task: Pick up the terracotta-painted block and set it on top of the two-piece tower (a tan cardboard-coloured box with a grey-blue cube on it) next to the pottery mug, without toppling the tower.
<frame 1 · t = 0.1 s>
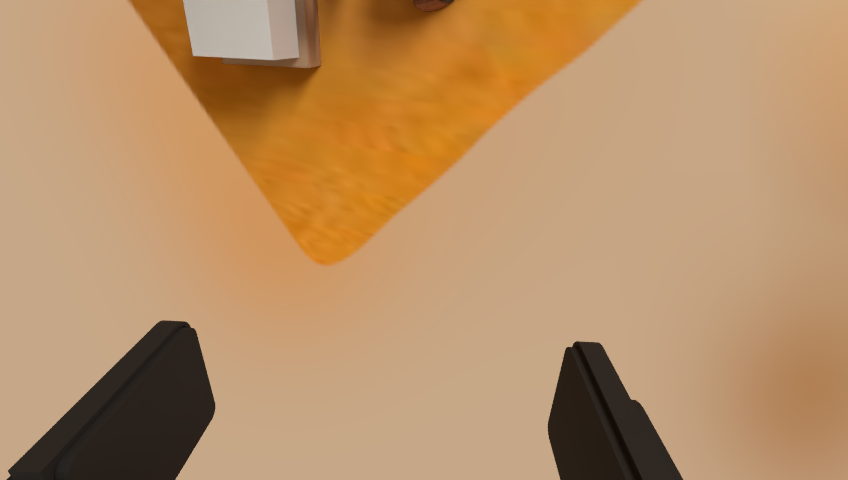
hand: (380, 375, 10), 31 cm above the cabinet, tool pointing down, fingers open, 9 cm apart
tan cardboard-coloured box: (278, 19, 35), on the cabinet, touching greyblue cube
greyblue cube: (260, 16, 31), point 4 cm above the cabinet, touching tan cardboard-coloured box
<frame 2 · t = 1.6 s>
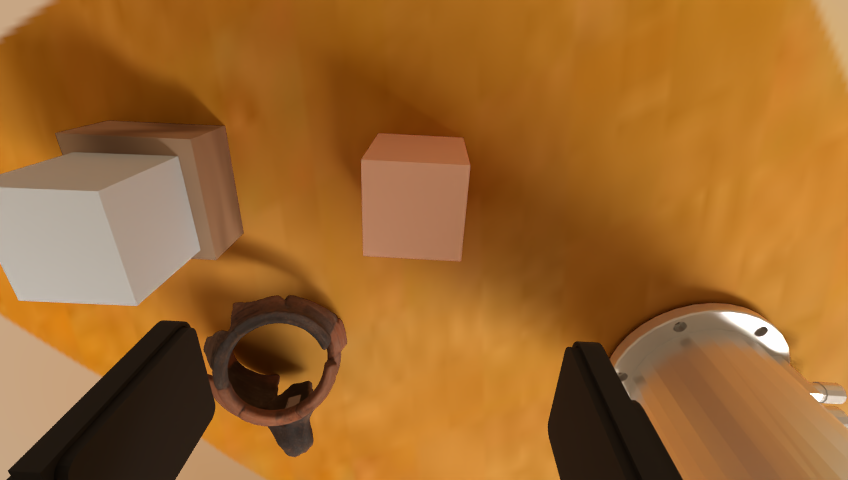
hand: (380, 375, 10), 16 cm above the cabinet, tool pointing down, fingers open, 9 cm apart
terracotta block: (419, 176, 25), on the cabinet
tan cardboard-coloured box: (182, 178, 26), on the cabinet
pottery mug: (292, 342, 31), on the cabinet
greyblue cube: (140, 203, 22), point 4 cm above the cabinet
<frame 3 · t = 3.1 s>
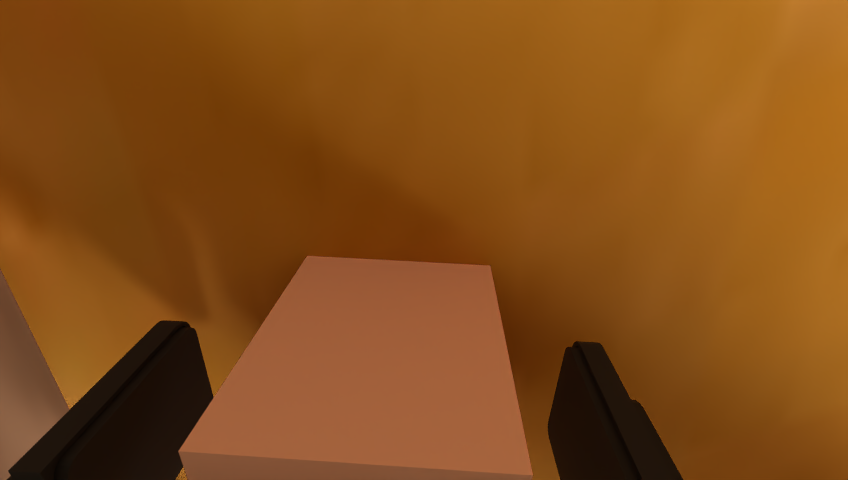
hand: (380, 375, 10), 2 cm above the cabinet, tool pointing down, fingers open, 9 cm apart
terracotta block: (397, 333, 12), on the cabinet
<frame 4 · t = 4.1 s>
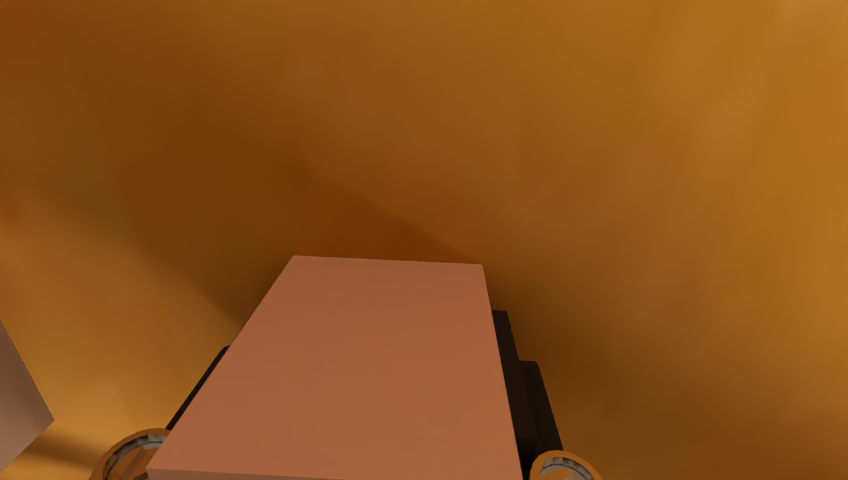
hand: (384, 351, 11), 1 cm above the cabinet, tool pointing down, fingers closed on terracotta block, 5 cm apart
terracotta block: (387, 335, 12), on the cabinet, touching gripper
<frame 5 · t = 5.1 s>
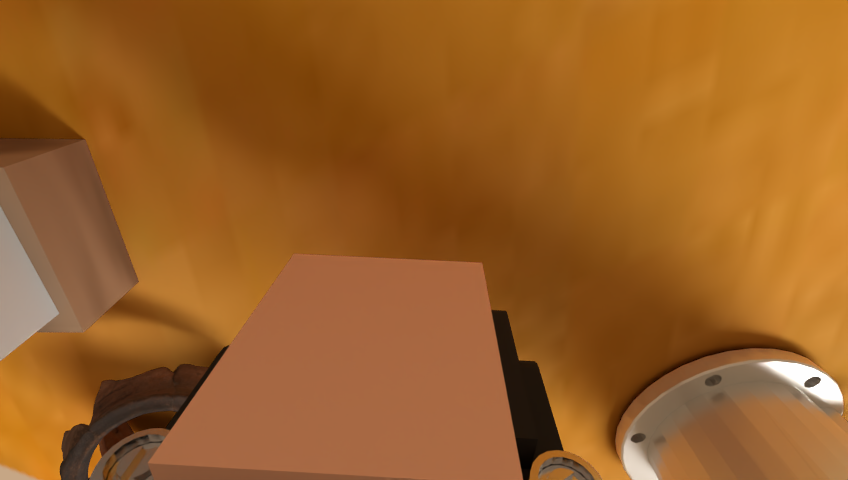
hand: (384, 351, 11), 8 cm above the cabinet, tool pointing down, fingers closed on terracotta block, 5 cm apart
terracotta block: (388, 333, 12), point 8 cm above the cabinet, touching gripper
tan cardboard-coloured box: (40, 213, 19), on the cabinet, touching greyblue cube
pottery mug: (207, 409, 25), on the cabinet
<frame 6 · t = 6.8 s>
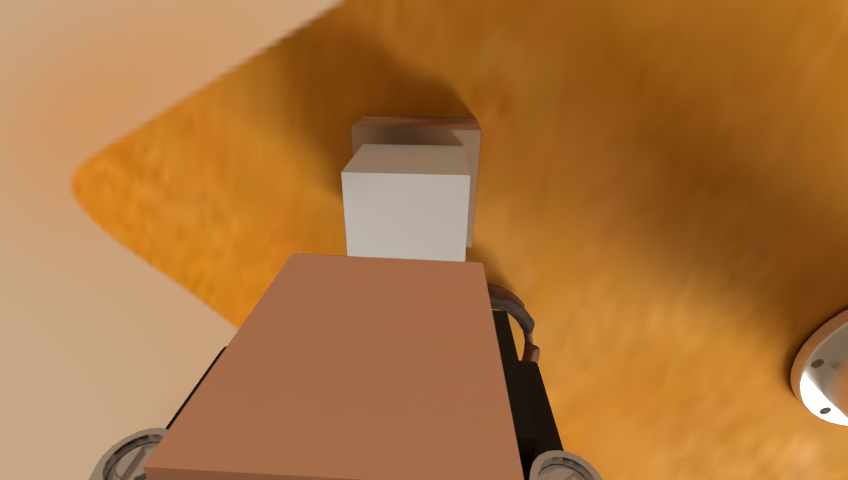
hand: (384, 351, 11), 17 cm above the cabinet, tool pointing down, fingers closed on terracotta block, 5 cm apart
terracotta block: (387, 333, 12), point 17 cm above the cabinet, touching gripper
tan cardboard-coloured box: (418, 171, 27), on the cabinet, touching greyblue cube
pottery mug: (465, 330, 32), on the cabinet
greyblue cube: (413, 192, 23), point 4 cm above the cabinet, touching tan cardboard-coloured box
when the fingers open (11 cm above the cabinet, at t = 8.6 s): terracotta block drops 1 cm, resting on greyblue cube.
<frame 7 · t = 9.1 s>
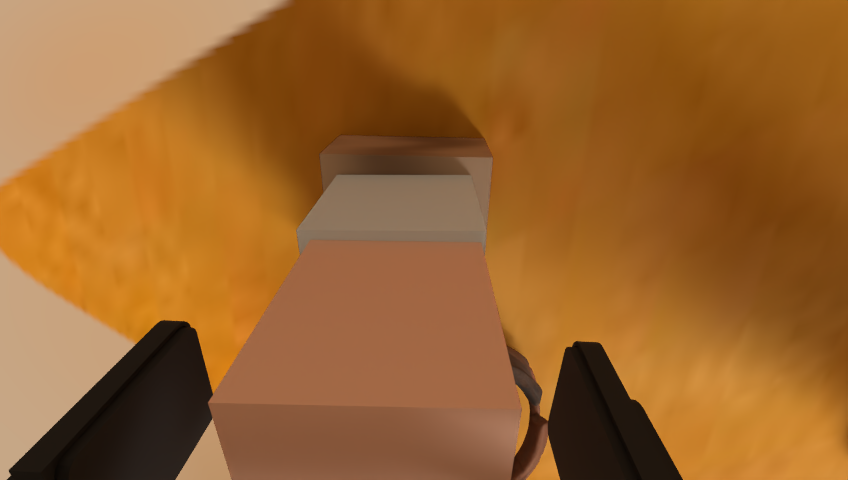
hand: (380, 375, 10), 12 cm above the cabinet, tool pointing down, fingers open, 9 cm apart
terracotta block: (397, 311, 13), point 9 cm above the cabinet, touching greyblue cube
tan cardboard-coloured box: (411, 202, 21), on the cabinet, touching greyblue cube
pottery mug: (457, 387, 27), on the cabinet
greyblue cube: (405, 235, 18), point 4 cm above the cabinet, touching terracotta block, tan cardboard-coloured box
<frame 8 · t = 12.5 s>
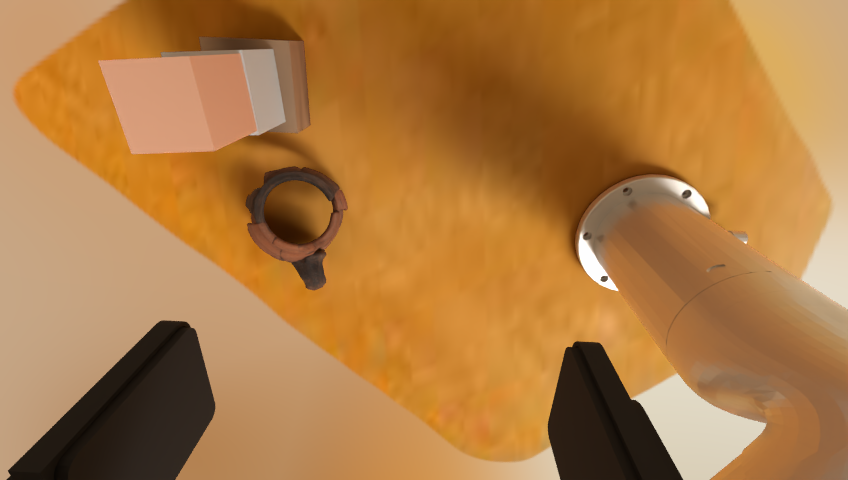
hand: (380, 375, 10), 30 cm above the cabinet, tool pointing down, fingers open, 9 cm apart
terracotta block: (213, 95, 28), point 9 cm above the cabinet, touching greyblue cube
tan cardboard-coloured box: (269, 82, 36), on the cabinet, touching greyblue cube
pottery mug: (308, 216, 42), on the cabinet
greyblue cube: (246, 87, 33), point 4 cm above the cabinet, touching terracotta block, tan cardboard-coloured box
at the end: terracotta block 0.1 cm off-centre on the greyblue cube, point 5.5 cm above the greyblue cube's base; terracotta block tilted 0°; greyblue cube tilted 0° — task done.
